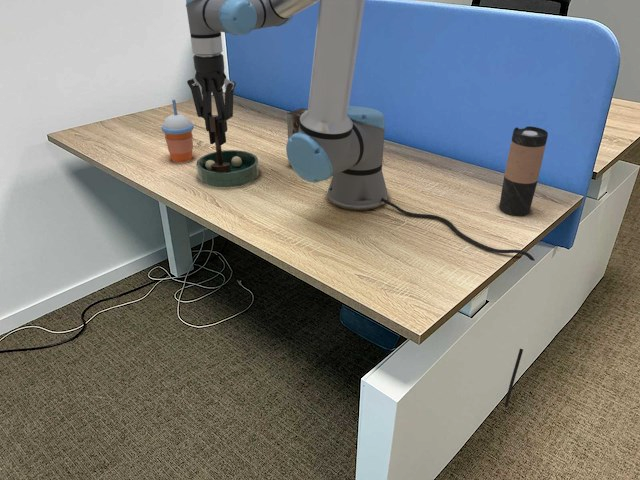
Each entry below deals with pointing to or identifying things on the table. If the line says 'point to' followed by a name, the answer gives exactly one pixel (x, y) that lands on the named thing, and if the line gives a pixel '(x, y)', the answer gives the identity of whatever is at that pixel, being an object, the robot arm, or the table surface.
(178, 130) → the cup with straw
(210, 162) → the dumpling
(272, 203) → the table surface
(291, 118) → the coffee box
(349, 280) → the table surface
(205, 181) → the bowl
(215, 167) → the brown handled stamp
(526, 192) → the travel mug
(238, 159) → the dumpling
